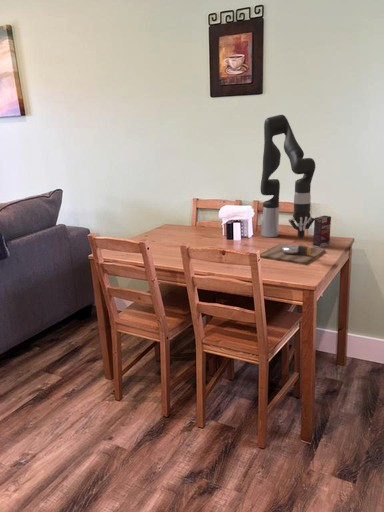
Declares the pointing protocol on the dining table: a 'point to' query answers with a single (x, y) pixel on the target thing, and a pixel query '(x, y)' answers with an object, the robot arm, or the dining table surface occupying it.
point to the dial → (296, 249)
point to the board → (291, 255)
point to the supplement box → (322, 231)
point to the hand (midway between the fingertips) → (300, 237)
